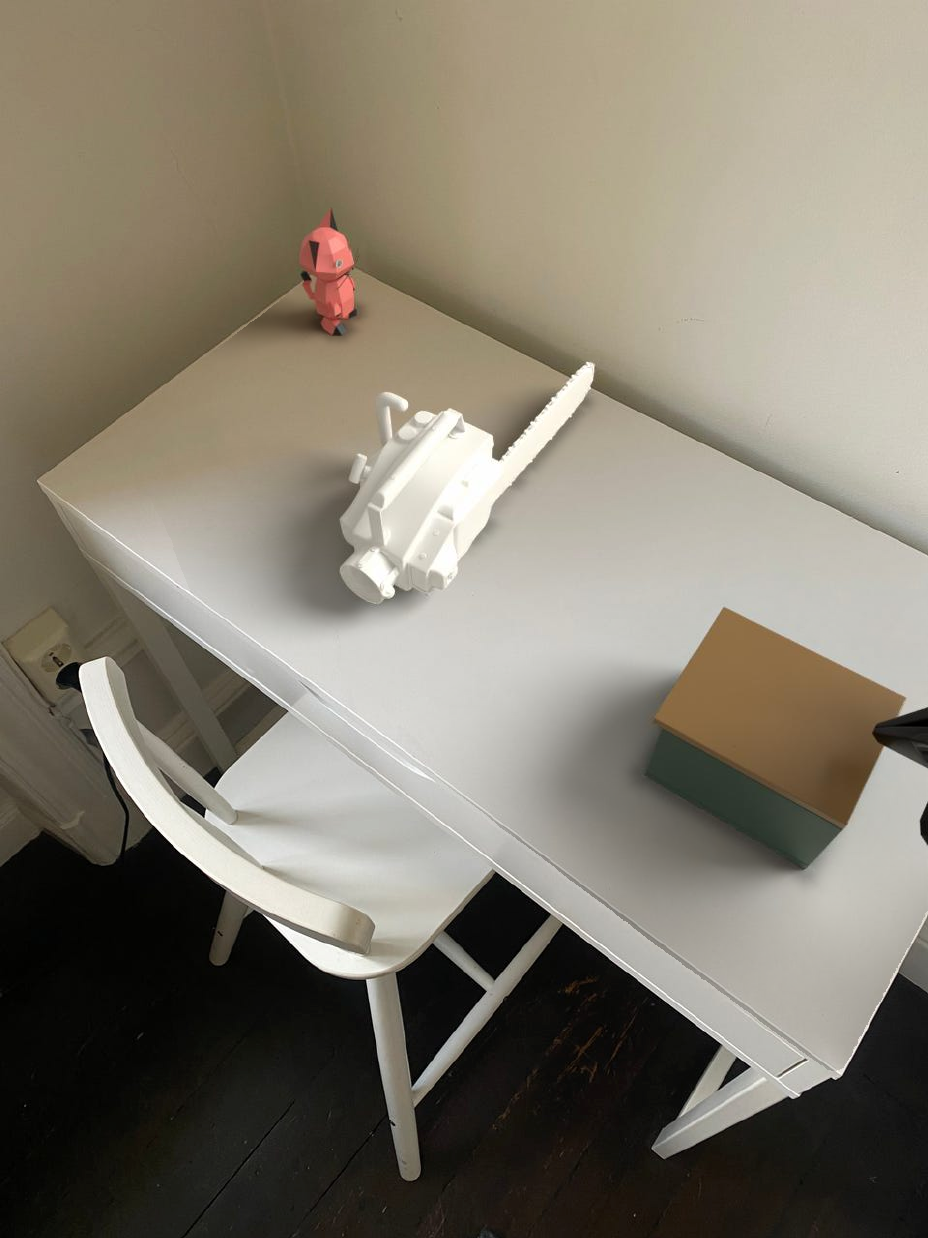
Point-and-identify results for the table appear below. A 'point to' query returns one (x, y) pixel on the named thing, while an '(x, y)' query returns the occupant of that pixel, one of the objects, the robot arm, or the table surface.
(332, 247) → the cat figurine
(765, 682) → the lid
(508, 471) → the chainsaw
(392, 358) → the table surface
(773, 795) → the green open box
